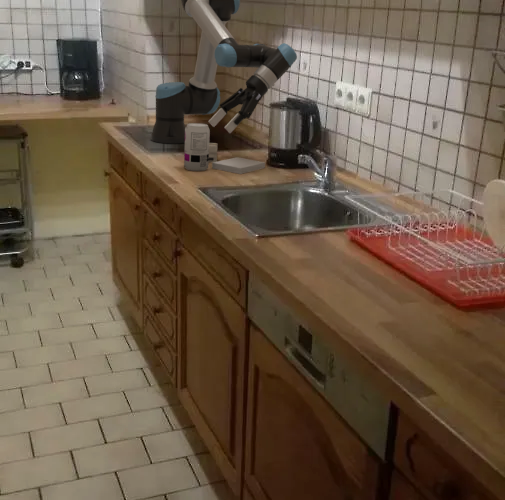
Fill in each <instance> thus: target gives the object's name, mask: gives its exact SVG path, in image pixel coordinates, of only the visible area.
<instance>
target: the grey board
mask: <svg viewBox="0 0 505 500" xmlns="http://www.w3.org/2000/svg"><path fill="white" fill-rule="evenodd" d="M265 167H266V162H264V161H259V160H255V159H250V158H244V157H238V156H235V157H232V158H227V159H222V160H217V162H213V163H212V164H211V169H212V170H213V169H214V170H219V171H224V172H228V173H234V174H238V175H242V174H246V173H249V172H255V171H258V170H262V169H265Z"/></svg>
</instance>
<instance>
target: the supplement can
mask: <svg viewBox="0 0 505 500" xmlns="http://www.w3.org/2000/svg"><path fill="white" fill-rule="evenodd" d="M210 132H211V131H210V128H209V125H208V124H206V123H196V122H193V123H191V122H190V123H186V125H185V143H184V152H183V153H184V156H183V157H184V161H183V167H184V168H185V169H186V170H187V171H192V172H203V171H206V170H208V168H209V163H210V162H209V143H210V138H211V137H210V134H211V133H210Z"/></svg>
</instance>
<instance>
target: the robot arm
mask: <svg viewBox="0 0 505 500" xmlns="http://www.w3.org/2000/svg"><path fill="white" fill-rule="evenodd" d="M180 2H181V6H182V9H183V10H184V12H185V13H186V15H187V16H188V17H190V18H193V20H194V21H195V23H196V25H198V27H199V28H200V30H201V34H200V41H199V46H198V49H197V50H198V51H197V57H196V62H195V69H194V73H193V76H192V77H191V78H190V79H189V81H188V84H187V85H186V84H185V83H184V82H183V81H173V82H172V81H171V82H164V83H160V84H158V85H157V86H156V89H155V90H156V91H155V122H154V125H153V128H152V132H151V134H150V140H151V142H156V143H159V144H172V145H173V144H185V128H186V124H185V116H188V115H191V116H192V115H193V116H194V115H203V116H204V115H210V114H213V113H215V112H216V113H215V114H214V115H213V116H212V117H210V119H209V120H208V123H209V124H210V125H211V126H212V127H213V128H215V126H217V125H218V124H219V122H221V120H222V119H223V118H224V117H225V116H226V115H228V112H229V111H230V110H232V109H234V108H235V107H237V106H239V105H241V108H240V110H238V111H237V112H238V113H236V114H235V115H234V117H232V118H231V120H230V121H229V122H228V123H227V124H225V126H224V129H225V130H226V131H227V132H228V134H231V133H232V132H233V131H234V130H236V128H237V127H238V126H239V125H240V124H241V123H242V122H243V120H245V119H250V118H251V116H252V114H253V112H254V111H255V109H256V107H257V106H258V104H259V103H260V101H261V100H262V98H263V97H264V95H266V94H267V93H268V91H269V90H270V89H271V88H272V87H274V86H275V84H276V82H278V81H279V79H281V78H282V77H283V75H284V74H285V73H286V72H287V71H288V70H289V69H290V68H291V67H292V65H294V63H295V62H296V61H297V59H298V55H297V53H296V51H295V49H294V48H292V46H290V45H289V44H288V43H283V42H282V43H281V44H279V45H278V46H277V47H276V48H274V47H271V46H268V45H265V44H264V43H263V44H261V43H254V44H239V43H238V42H237V41H236V38H234V36H233V35H232V33H230V31H229V30H228V28H227V27H226V24H227V23H229V22H231V17H232V15H234V14H236V13H238V12H239V11H238V10H239V9H240V4H241V0H180ZM218 66H219V67H224V68H257V69H256V70H255V71H254V73H253V75H250V77H249V78H248V79H247V80H246V82H245V85H246V88H244V89H243V88H242V87H240V88H238V90H237V91H235V92H234V93H233V94H232V95H230V96H229V97H228V98H226V99H225V100H224V101H222V102H221V96H220V95H221V92H220V89H219V88H218V84H217V82H216V81H215V79H216V74H217V69H218ZM219 107H220V108H219ZM218 108H219V109H218ZM217 110H218V111H217Z"/></svg>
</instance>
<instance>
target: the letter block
mask: <svg viewBox="0 0 505 500" xmlns="http://www.w3.org/2000/svg"><path fill="white" fill-rule="evenodd" d="M217 161H218V143H216V142H209V163H210V164H211V163H213V162H217Z"/></svg>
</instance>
